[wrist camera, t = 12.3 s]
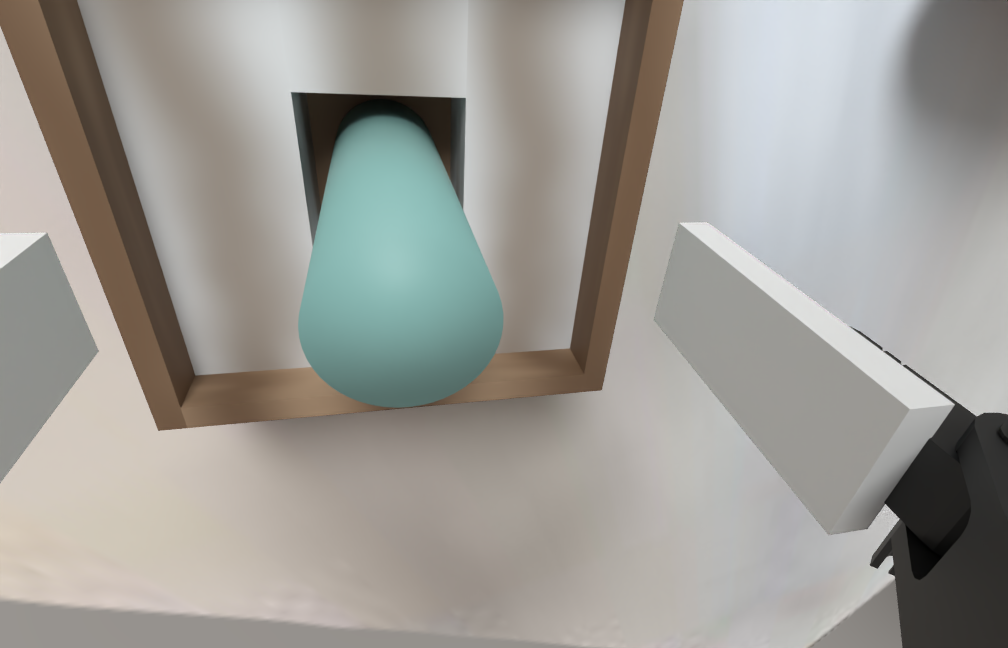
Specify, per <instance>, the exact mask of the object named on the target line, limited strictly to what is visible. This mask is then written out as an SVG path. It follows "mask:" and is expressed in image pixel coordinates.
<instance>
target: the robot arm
mask: <svg viewBox="0 0 1008 648" xmlns="http://www.w3.org/2000/svg"><path fill="white" fill-rule="evenodd" d="M654 321H655V322H656V323H657V324H658V326H659V327H660V328H661V329H662V331H663V332H664V333H665V334H666V336H667V337H668V338H669V339H670V340H671V342H672V343H673V344H674V345H675V347H676V348H677V349H678V350H679V352H680V353H681V354H682V355H683V356H684V358H685V359H686V360H687V361H688V363H689V364H690V365H691V366H692V368H693V369H694V370H695V371H696V372H697V374H698V375H699V376H700V377H701V379H702V380H703V381H704V382H705V384H706V385H707V386H708V387H709V388H710V390H711V391H712V392H713V393H714V395H715V396H716V397H717V398H718V400H719V401H720V402H721V403H722V404H723V406H724V407H725V408H726V409H727V411H728V412H729V413H730V414H731V416H732V417H733V418H734V419H735V420H736V422H737V423H738V424H739V425H740V427H741V428H742V429H743V430H744V432H745V433H746V434H747V435H748V436H749V438H750V439H751V440H752V441H753V443H754V444H755V445H756V446H757V448H758V449H759V450H760V451H761V452H762V454H763V455H764V456H765V457H766V459H767V460H768V461H769V462H770V464H771V465H772V466H773V467H774V468H775V470H776V471H777V472H778V473H779V475H780V476H781V477H782V478H783V480H784V481H785V482H786V483H787V484H788V486H789V487H790V488H791V489H792V491H793V492H794V493H795V494H796V496H797V497H798V498H799V499H800V500H801V502H802V503H803V504H804V505H805V507H806V508H807V509H808V510H809V512H810V513H811V514H812V515H813V516H814V518H815V519H816V520H817V521H818V523H819V524H820V525H821V526H822V528H823V529H824V530H825V531H826V532H827V534H828V535H832V534H839V533H845V532H851V531H857V530H864V529H868V527H869V526H870V525H871V523H872V522H873V520H874V519H875V518H876V516H877V515H878V513H879V512H880V510H881V509H882V508H883V506H884V505H885V504H886V505H887V506H888V507H889V508H890V509H891V510H892V511H893V512H894V513H895V514H896V515H897V516H898V517H899V518H900V519H899V521H898V522H897V523H896V525H895V526H894V527H893V529H892V530H891V531H890V533H889V534H888V535H887V537H886V538H885V539H884V541H883V542H882V544H881V545H880V546H879V548H878V549H877V550H876V552H875V553H874V554H873V556H872V559H871V563H870V566H873V567H875V568H877V569H878V567H879V566H880V565H881V563H882V562H883V561H884V559H885V558H886V557H888V556H893V561H894V565H893V567H892V568H891V569H890V570H889V574H891V575H894V576H895V580H896V590H897V598H898V608H899V618H900V627H901V637H902V646H903V648H1008V415H1007V414H1002V413H983V414H981V415H979V416H975V415H974V414H972V413H971V412H970V411H968V410H967V409H966V408H964V407H963V406H961V405H960V404H959V403H957V402H956V401H955V400H953V399H952V398H951V397H949V396H948V395H946V394H945V393H944V392H942V391H941V390H940V389H938V388H937V387H935V386H934V385H933V384H931V383H930V382H929V381H927V380H926V379H925V378H923V377H922V376H920V375H919V374H918V373H916V372H915V371H914V370H912V369H911V368H909V367H908V366H907V365H901V361H900V360H898V359H897V358H896V357H894V356H893V355H892V354H890V353H889V352H888V351H883V350H882V347H881V346H879V345H878V344H877V343H875V342H874V341H872V340H871V339H870V338H868V337H867V336H866V335H864V334H863V333H861V332H860V331H858V330H856V329H854V328H852V327H850V326H848V325H846V324H845V323H844V322H842V321H841V320H840V319H838V318H837V317H836V316H834V315H833V314H831V313H830V312H829V311H827V310H826V309H825V308H823V307H822V306H821V305H819V304H818V303H817V302H815V301H814V300H812V299H811V298H810V297H808V296H807V295H806V294H804V293H803V292H802V291H800V290H799V289H798V288H796V287H795V286H793V285H792V284H791V283H789V282H788V281H787V280H785V279H784V278H783V277H781V276H780V275H779V274H777V273H776V272H774V271H773V270H772V269H770V268H769V267H768V266H766V265H765V264H764V263H762V262H761V261H759V260H758V259H757V258H755V257H754V256H753V255H751V254H750V253H749V252H747V251H746V250H745V249H743V248H742V247H740V246H739V245H738V244H736V243H735V242H734V241H732V240H731V239H730V238H728V237H727V236H726V235H724V234H723V233H721V232H720V231H719V230H717V229H716V228H715V227H713V226H712V225H711V224H709V223H708V222H698V223H679V225H678V229H677V232H676V236H675V240H674V244H673V248H672V251H671V255H670V259H669V263H668V267H667V271H666V274H665V278H664V282H663V286H662V290H661V293H660V297H659V301H658V305H657V309H656V313H655V316H654ZM97 353H98V349H97V346H96V344H95V342H94V339H93V337H92V335H91V333H90V330H89V328H88V326H87V323H86V321H85V319H84V316H83V314H82V312H81V310H80V307H79V305H78V303H77V300H76V298H75V296H74V293H73V291H72V289H71V287H70V284H69V282H68V280H67V277H66V275H65V273H64V270H63V268H62V266H61V264H60V261H59V259H58V257H57V254H56V252H55V250H54V247H53V245H52V243H51V241H50V238H49V236H48V234H47V233H0V483H1V481H2V480H3V479H4V477H5V476H6V475H7V473H8V472H9V471H10V469H11V468H12V467H13V465H14V464H15V463H16V461H17V460H18V459H19V457H20V456H21V455H22V453H23V452H24V451H25V449H26V448H27V447H28V445H29V444H30V443H31V441H32V440H33V438H34V437H35V436H36V434H37V433H38V432H39V430H40V429H41V428H42V426H43V425H44V424H45V422H46V421H47V420H48V418H49V417H50V416H51V414H52V413H53V412H54V410H55V409H56V408H57V406H58V405H59V404H60V402H61V401H62V400H63V398H64V397H65V396H66V394H67V393H68V392H69V390H70V389H71V388H72V386H73V385H74V383H75V382H76V381H77V379H78V378H79V377H80V375H81V374H82V373H83V371H84V370H85V369H86V367H87V366H88V365H89V363H90V362H91V361H92V359H93V358H94V357H95V355H96V354H97Z"/></svg>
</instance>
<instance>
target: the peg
mask: <svg viewBox="0 0 1008 648" xmlns="http://www.w3.org/2000/svg"><path fill="white" fill-rule="evenodd" d="M502 330H503V308H502V302H501V299H500V296H499V293H498V290H497V288H496V286H495V283H494V281H493V279H492V276H491V274H490V272H489V269H488V267H487V265H486V262H485V260H484V258H483V255H482V253H481V251H480V248H479V246H478V244H477V241H476V239H475V237H474V234H473V232H472V230H471V227H470V225H469V223H468V220H467V218H466V216H465V213H464V211H463V209H462V206H461V204H460V202H459V199H458V197H457V195H456V192H455V190H454V188H453V185H452V183H451V181H450V179H449V176H448V174H447V172H446V169H445V167H444V165H443V162H442V160H441V158H440V155H439V153H438V151H437V148H436V146H435V144H434V141H433V139H432V137H431V134H430V132H429V130H428V128H427V126H426V124H425V123H424V121H423V120H422V119H421V117H420V116H419V115H418V114H417V113H416V112H415V111H413V110H412V109H411V108H409V107H408V106H406V105H404V104H402V103H399V102H397V101H393V100H388V99H374V100H369V101H366V102H363V103H361V104H359V105H357V106H356V107H354V108H353V109H351V110H350V111H349V112H348V113H347V114H346V116H345V117H344V118H343V120H342V122H341V123H340V125H339V128H338V130H337V135H336V139H335V144H334V149H333V153H332V158H331V163H330V168H329V172H328V177H327V182H326V187H325V192H324V196H323V201H322V206H321V211H320V216H319V220H318V225H317V230H316V235H315V239H314V244H313V249H312V254H311V259H310V263H309V268H308V273H307V278H306V282H305V287H304V292H303V297H302V302H301V306H300V311H299V320H298V331H299V339H300V343H301V347H302V350H303V352H304V354H305V357H306V359H307V361H308V362H309V364H310V365H311V367H312V368H313V370H314V371H315V372H316V373H317V374H318V376H319V377H320V378H321V379H322V380H323V381H325V382H326V383H327V384H328V385H329V386H331V387H332V388H333V389H335V390H336V391H338V392H340V393H341V394H343V395H345V396H347V397H349V398H352V399H354V400H357V401H359V402H363V403H366V404H370V405H375V406H381V407H394V408H400V407H413V406H420V405H424V404H428V403H432V402H435V401H438V400H441V399H444V398H446V397H448V396H450V395H452V394H454V393H456V392H458V391H459V390H461V389H463V388H464V387H466V386H467V385H468V384H469V383H471V382H472V381H473V380H474V379H475V378H476V377H478V376H479V375H480V374H481V373H482V371H483V370H484V369H485V368H486V367H487V365H488V364H489V363H490V361H491V359H492V358H493V356H494V354H495V352H496V350H497V348H498V346H499V343H500V339H501V336H502Z"/></svg>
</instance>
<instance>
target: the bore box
mask: <svg viewBox="0 0 1008 648" xmlns="http://www.w3.org/2000/svg"><path fill="white" fill-rule="evenodd" d="M683 1H684V0H0V26H1V29H2V31H3V34H4V36H5V39H6V41H7V44H8V47H9V49H10V52H11V54H12V57H13V59H14V62H15V65H16V67H17V70H18V72H19V75H20V77H21V80H22V82H23V85H24V88H25V90H26V93H27V95H28V98H29V100H30V103H31V106H32V108H33V111H34V113H35V116H36V118H37V121H38V123H39V126H40V129H41V131H42V134H43V136H44V139H45V141H46V144H47V146H48V149H49V152H50V154H51V157H52V159H53V162H54V164H55V167H56V170H57V172H58V175H59V177H60V180H61V182H62V185H63V187H64V190H65V193H66V195H67V198H68V200H69V203H70V205H71V208H72V210H73V213H74V216H75V218H76V221H77V223H78V226H79V228H80V231H81V234H82V236H83V239H84V241H85V244H86V246H87V249H88V251H89V254H90V257H91V259H92V262H93V264H94V267H95V269H96V272H97V274H98V277H99V280H100V282H101V285H102V287H103V290H104V292H105V295H106V298H107V300H108V303H109V305H110V308H111V310H112V313H113V315H114V318H115V321H116V323H117V326H118V328H119V331H120V333H121V336H122V338H123V341H124V344H125V346H126V349H127V351H128V354H129V356H130V359H131V362H132V364H133V367H134V369H135V372H136V374H137V377H138V379H139V382H140V385H141V387H142V390H143V392H144V395H145V397H146V400H147V403H148V405H149V408H150V410H151V413H152V415H153V418H154V420H155V423H156V426H157V428H158V431H160V430H171V429H182V428H193V427H204V426H214V425H225V424H236V423H247V422H258V421H269V420H280V419H291V418H302V417H313V416H324V415H335V414H346V413H357V412H368V411H379V410H390V409H401V408H412V407H400V408H394V407H381V406H375V405H370V404H366V403H363V402H359V401H357V400H354V399H352V398H349V397H347V396H345V395H343V394H341V393H340V392H338V391H336V390H335V389H333V388H332V387H331V386H329V385H328V384H327V383H326V382H325V381H323V380H322V379H321V378H320V377H319V376H318V374H317V373H316V372H315V371H314V370H313V368H312V367H311V365H310V364H309V362H308V361H307V359H306V357H305V354H304V352H303V350H302V347H301V343H300V339H299V331H298V320H299V311H300V306H301V302H302V297H303V292H304V287H305V282H306V278H307V273H308V268H309V263H310V259H311V254H312V249H313V244H314V239H315V235H316V230H317V225H318V220H319V216H320V211H321V206H322V201H323V196H324V192H325V187H326V182H327V177H328V172H329V168H330V163H331V158H332V153H333V149H334V144H335V139H336V135H337V130H338V128H339V125H340V123H341V122H342V120H343V118H344V117H345V116H346V114H347V113H348V112H349V111H350V110H351V109H353V108H354V107H356V106H357V105H359V104H361V103H363V102H366V101H369V100H374V99H388V100H393V101H397V102H399V103H402V104H404V105H406V106H408V107H409V108H411V109H412V110H413V111H415V112H416V113H417V114H418V115H419V116H420V117H421V119H422V120H423V121H424V123H425V124H426V126H427V128H428V130H429V132H430V134H431V137H432V139H433V141H434V144H435V146H436V148H437V151H438V153H439V155H440V158H441V160H442V162H443V165H444V167H445V169H446V172H447V174H448V176H449V179H450V181H451V183H452V185H453V188H454V190H455V192H456V195H457V197H458V199H459V202H460V204H461V206H462V209H463V211H464V213H465V216H466V218H467V220H468V223H469V225H470V227H471V230H472V232H473V234H474V237H475V239H476V241H477V244H478V246H479V248H480V251H481V253H482V255H483V258H484V260H485V262H486V265H487V267H488V269H489V272H490V274H491V276H492V279H493V281H494V283H495V286H496V288H497V290H498V293H499V296H500V299H501V302H502V308H503V330H502V336H501V339H500V343H499V346H498V348H497V350H496V352H495V354H494V356H493V358H492V359H491V361H490V363H489V364H488V365H487V367H486V368H485V369H484V370H483V371H482V373H481V374H480V375H479V376H478V377H476V378H475V379H474V380H473V381H472V382H471V383H469V384H468V385H467V386H466V387H464V388H463V389H461V390H459V391H458V392H456V393H454V394H452V395H450V396H448V397H446V398H444V399H441V400H438V401H435V402H432V403H428V404H424V405H420V406H413V407H423V406H434V405H445V404H456V403H467V402H478V401H489V400H500V399H511V398H522V397H533V396H543V395H554V394H565V393H576V392H587V391H598V390H602V386H603V382H604V377H605V372H606V367H607V363H608V358H609V353H610V348H611V344H612V339H613V334H614V329H615V325H616V320H617V315H618V310H619V306H620V301H621V296H622V291H623V287H624V282H625V277H626V272H627V268H628V263H629V258H630V253H631V249H632V244H633V239H634V234H635V230H636V225H637V220H638V215H639V211H640V206H641V201H642V196H643V192H644V187H645V182H646V177H647V172H648V168H649V163H650V158H651V153H652V149H653V144H654V139H655V134H656V130H657V125H658V120H659V115H660V111H661V106H662V101H663V96H664V92H665V87H666V82H667V77H668V73H669V68H670V63H671V58H672V54H673V49H674V44H675V39H676V35H677V30H678V25H679V20H680V16H681V11H682V6H683Z"/></svg>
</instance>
